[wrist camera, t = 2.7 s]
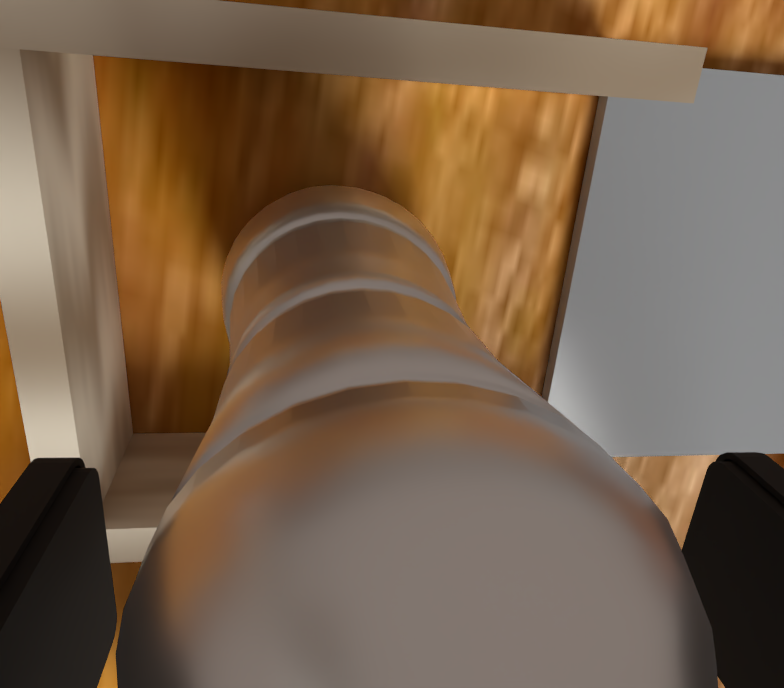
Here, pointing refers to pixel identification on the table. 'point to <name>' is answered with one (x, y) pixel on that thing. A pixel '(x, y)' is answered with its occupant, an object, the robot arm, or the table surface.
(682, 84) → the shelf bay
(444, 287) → the plastic bottle
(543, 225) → the table surface
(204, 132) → the table surface
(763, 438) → the tile
